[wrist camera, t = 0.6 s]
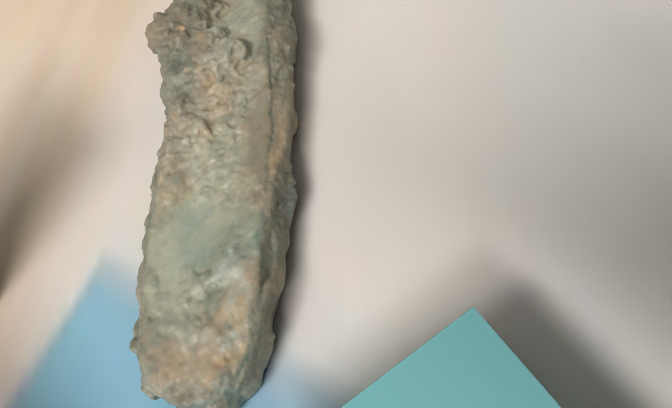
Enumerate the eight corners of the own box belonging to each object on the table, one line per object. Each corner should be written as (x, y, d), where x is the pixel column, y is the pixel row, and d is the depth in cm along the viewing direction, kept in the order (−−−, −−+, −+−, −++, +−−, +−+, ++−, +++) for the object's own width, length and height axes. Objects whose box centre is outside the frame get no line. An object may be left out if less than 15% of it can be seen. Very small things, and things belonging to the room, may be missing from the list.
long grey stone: (142, 441, 29) (328, 416, 26) (68, 424, 25) (282, 391, 22) (191, -11, 47) (303, -50, 45) (153, -66, 43) (275, -113, 40)
